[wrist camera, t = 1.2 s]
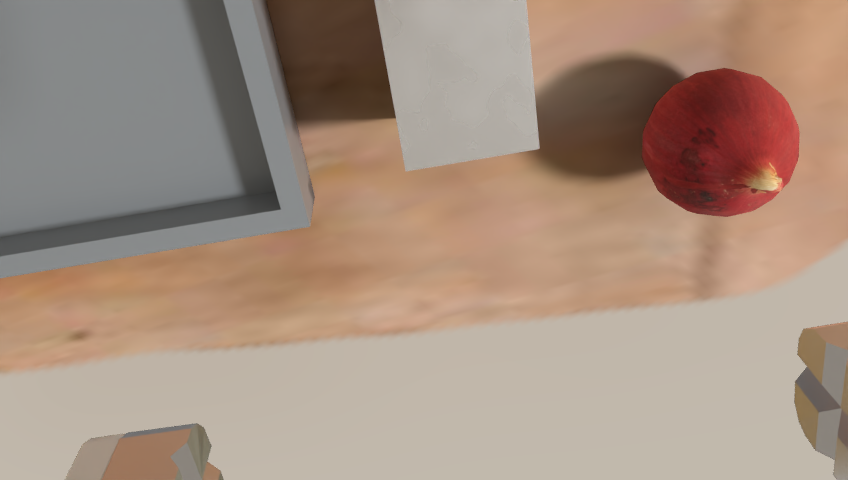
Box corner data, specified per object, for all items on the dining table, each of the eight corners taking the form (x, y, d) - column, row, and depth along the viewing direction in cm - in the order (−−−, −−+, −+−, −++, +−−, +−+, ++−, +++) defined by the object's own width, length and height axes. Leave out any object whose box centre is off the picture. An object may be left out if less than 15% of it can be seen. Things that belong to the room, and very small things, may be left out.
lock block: (365, -77, 30) (364, -56, 25) (493, -100, 30) (518, -83, 25) (400, 116, 34) (405, 171, 29) (513, 97, 34) (539, 148, 29)
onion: (653, 194, 36) (720, 284, 29) (598, 95, 34) (658, 168, 27) (769, 129, 35) (868, 207, 28) (722, 21, 33) (818, 77, 26)
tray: (-292, -48, 29) (-358, -36, 26) (230, -142, 29) (215, -138, 26) (-111, 267, 36) (-150, 303, 33) (314, 196, 35) (309, 226, 33)
